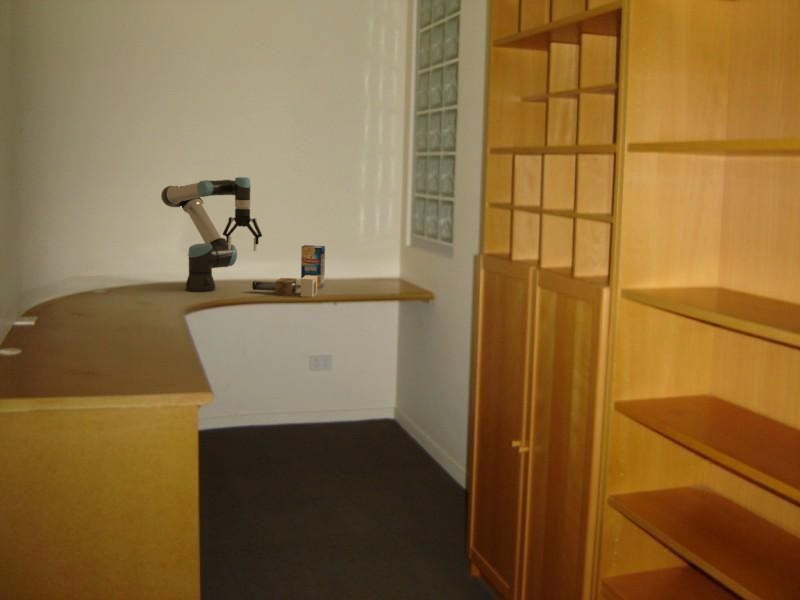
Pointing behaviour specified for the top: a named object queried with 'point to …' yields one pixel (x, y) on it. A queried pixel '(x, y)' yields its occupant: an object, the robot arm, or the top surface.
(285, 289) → the sleeve
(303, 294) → the socket
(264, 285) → the tube
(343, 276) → the top surface
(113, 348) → the top surface
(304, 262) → the beverage box
